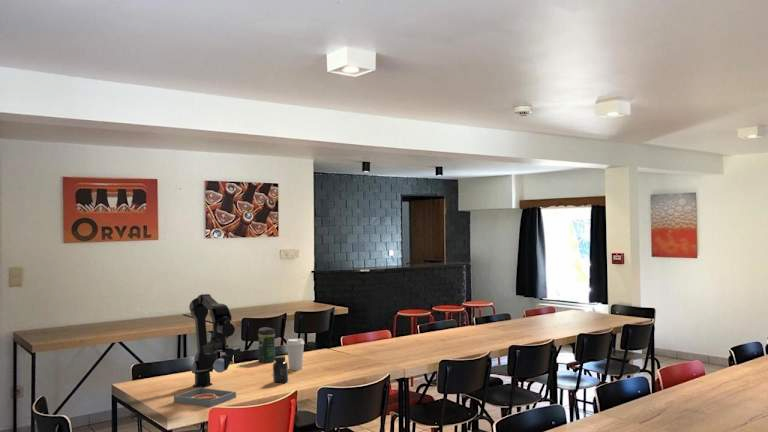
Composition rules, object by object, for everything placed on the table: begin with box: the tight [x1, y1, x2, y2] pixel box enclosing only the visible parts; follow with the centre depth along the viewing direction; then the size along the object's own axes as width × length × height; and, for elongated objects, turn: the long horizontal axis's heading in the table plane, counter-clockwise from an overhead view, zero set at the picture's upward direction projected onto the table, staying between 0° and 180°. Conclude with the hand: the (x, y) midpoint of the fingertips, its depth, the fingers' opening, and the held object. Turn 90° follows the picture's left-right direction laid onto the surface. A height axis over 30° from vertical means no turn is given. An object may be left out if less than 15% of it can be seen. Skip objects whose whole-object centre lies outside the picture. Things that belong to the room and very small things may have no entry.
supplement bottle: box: [272, 355, 289, 384], centre depth 304 cm, size 7×7×12 cm
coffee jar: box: [257, 326, 276, 363], centre depth 354 cm, size 10×8×19 cm
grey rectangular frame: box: [173, 387, 237, 408], centre depth 274 cm, size 20×16×2 cm
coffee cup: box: [285, 338, 305, 371], centre depth 333 cm, size 10×10×15 cm
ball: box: [213, 358, 226, 373], centre depth 282 cm, size 6×6×6 cm
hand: (220, 369), depth 282 cm, fingers closed on ball, 6 cm apart
